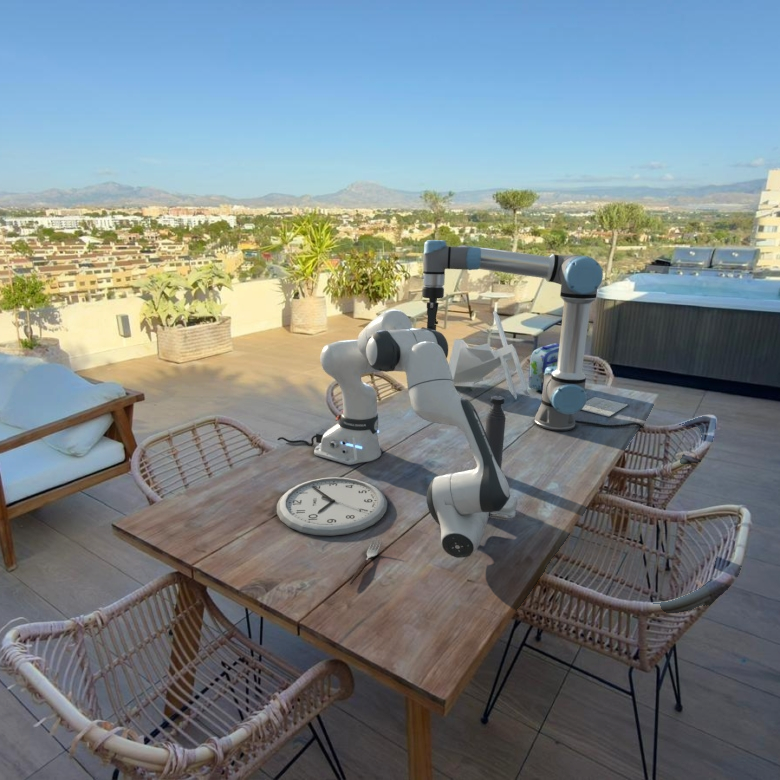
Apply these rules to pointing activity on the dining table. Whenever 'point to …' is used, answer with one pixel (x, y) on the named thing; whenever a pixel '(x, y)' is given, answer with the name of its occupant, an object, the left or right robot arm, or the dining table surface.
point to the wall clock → (331, 506)
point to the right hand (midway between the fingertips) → (430, 346)
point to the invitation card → (603, 406)
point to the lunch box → (542, 364)
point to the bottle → (496, 430)
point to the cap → (497, 400)
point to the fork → (370, 554)
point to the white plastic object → (484, 361)
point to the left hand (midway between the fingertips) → (480, 486)
